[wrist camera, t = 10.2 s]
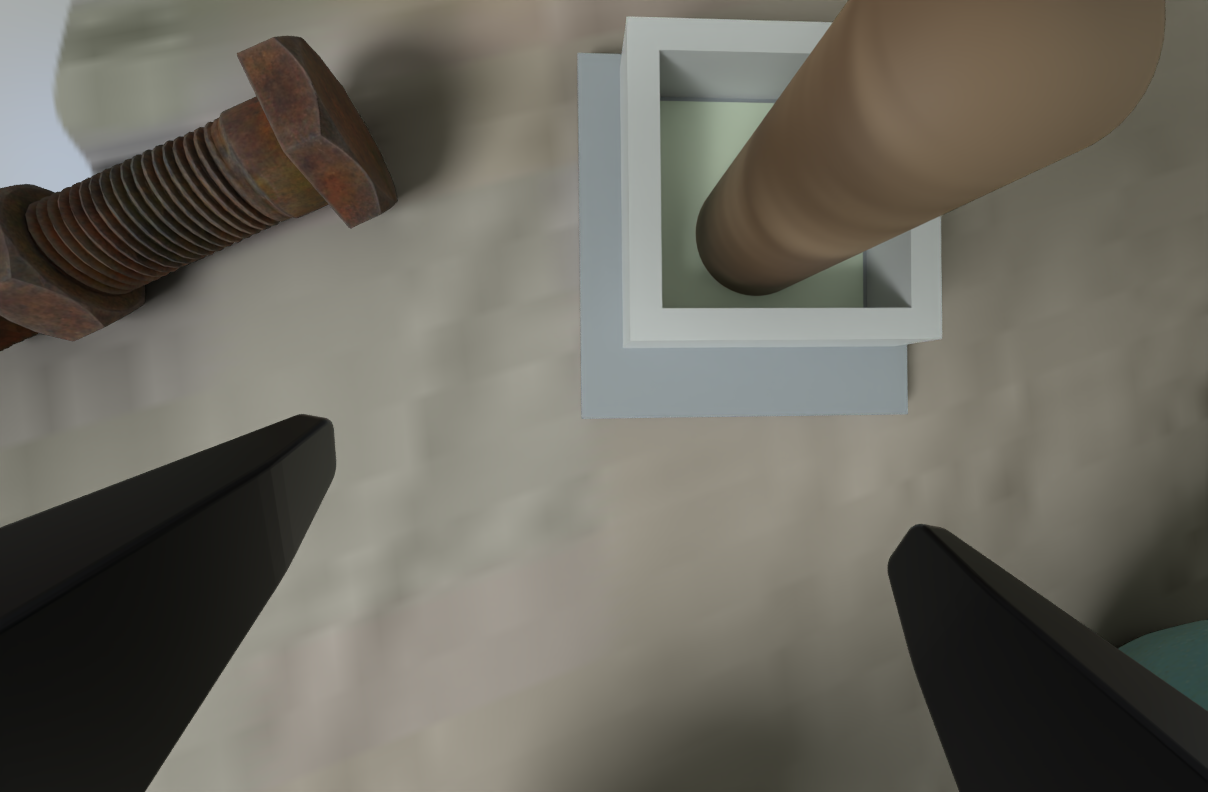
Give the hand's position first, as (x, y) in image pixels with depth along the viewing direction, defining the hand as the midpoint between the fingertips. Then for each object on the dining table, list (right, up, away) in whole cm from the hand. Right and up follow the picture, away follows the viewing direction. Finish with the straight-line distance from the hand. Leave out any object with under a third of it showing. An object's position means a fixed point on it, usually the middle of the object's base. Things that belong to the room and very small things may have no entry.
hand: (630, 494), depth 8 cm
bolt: (-15, +7, +11) cm, 20 cm away
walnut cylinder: (+5, +7, +11) cm, 14 cm away
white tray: (+5, +7, +12) cm, 15 cm away
